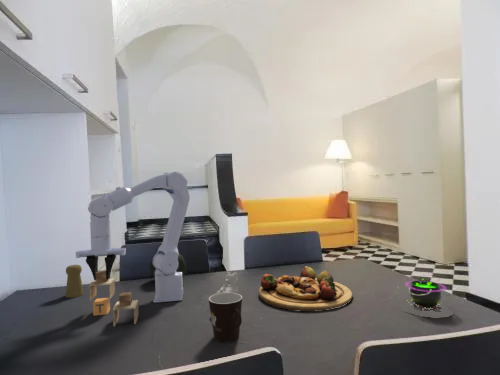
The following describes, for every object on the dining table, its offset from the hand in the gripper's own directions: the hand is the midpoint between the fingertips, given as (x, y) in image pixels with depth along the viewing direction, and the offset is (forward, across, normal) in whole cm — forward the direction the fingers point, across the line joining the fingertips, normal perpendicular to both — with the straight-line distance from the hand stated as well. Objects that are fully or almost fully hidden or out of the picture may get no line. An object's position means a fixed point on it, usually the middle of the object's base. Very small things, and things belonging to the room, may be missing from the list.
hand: (102, 279), depth 109 cm
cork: (+11, +15, -20) cm, 28 cm away
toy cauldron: (+11, -97, +20) cm, 100 cm away
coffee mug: (+11, -37, +28) cm, 47 cm away
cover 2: (+10, -9, +10) cm, 17 cm away
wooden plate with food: (+11, -66, -1) cm, 67 cm away
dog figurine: (+11, -39, +6) cm, 41 cm away
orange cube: (+10, 0, +1) cm, 11 cm away
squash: (+11, -18, -31) cm, 38 cm away
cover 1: (+6, 0, 0) cm, 6 cm away
